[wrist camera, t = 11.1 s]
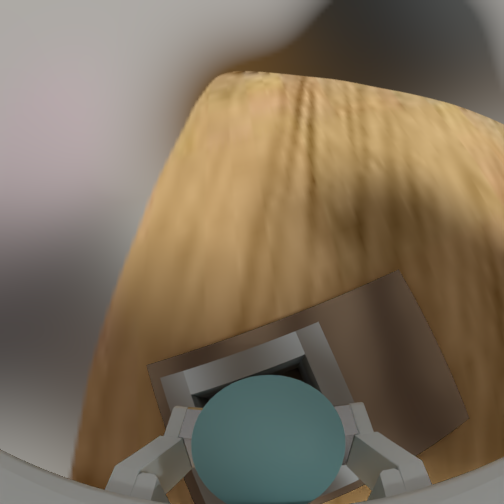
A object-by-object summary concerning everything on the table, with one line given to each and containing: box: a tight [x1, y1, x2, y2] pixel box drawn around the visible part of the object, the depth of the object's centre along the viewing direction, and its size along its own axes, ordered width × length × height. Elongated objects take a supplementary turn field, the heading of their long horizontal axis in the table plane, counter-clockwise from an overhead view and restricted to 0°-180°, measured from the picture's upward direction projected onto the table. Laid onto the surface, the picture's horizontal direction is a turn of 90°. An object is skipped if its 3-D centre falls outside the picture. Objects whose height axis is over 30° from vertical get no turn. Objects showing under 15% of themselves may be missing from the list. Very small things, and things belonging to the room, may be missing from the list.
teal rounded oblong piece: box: [191, 375, 345, 504], centre depth 10 cm, size 4×4×8 cm
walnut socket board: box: [147, 270, 469, 504], centre depth 15 cm, size 18×12×6 cm, turn 110°
